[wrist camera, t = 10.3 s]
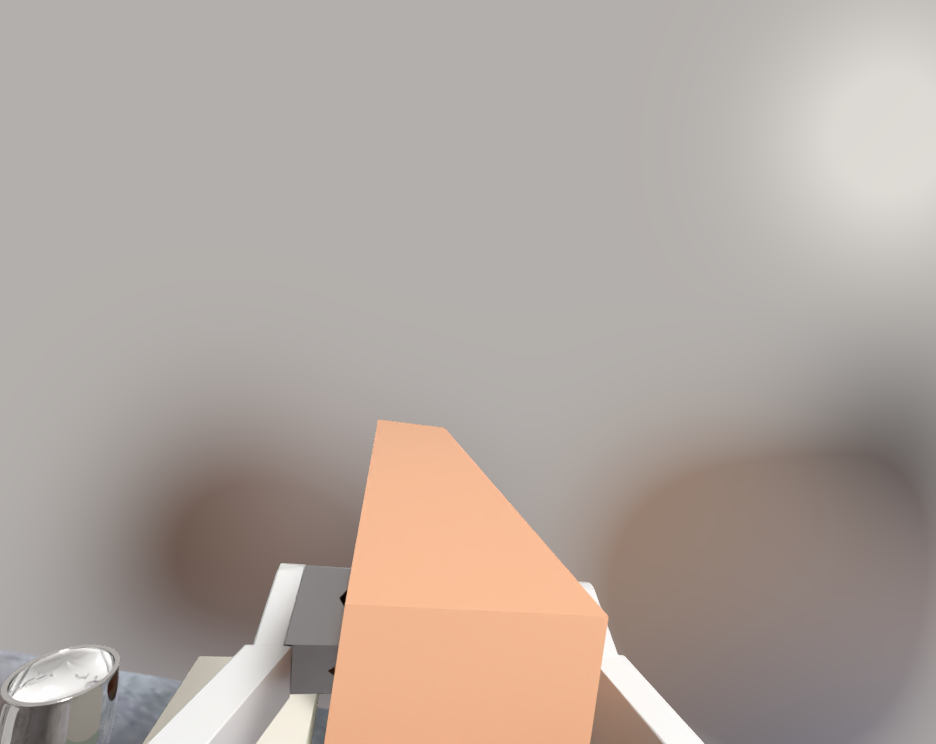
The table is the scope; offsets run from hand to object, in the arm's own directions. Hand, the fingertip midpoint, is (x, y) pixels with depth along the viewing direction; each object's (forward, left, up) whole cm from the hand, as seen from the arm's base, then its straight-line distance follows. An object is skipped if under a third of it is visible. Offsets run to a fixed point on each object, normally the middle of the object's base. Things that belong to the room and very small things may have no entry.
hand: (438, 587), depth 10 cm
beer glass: (-35, +3, -36) cm, 50 cm away
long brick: (-4, +4, -2) cm, 7 cm away
